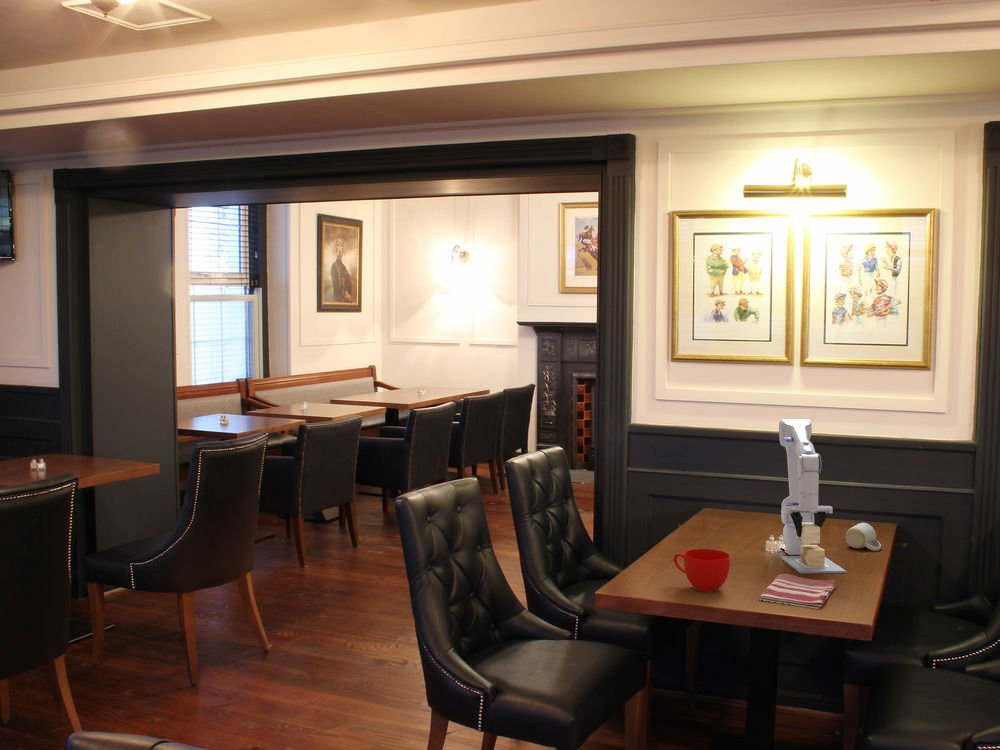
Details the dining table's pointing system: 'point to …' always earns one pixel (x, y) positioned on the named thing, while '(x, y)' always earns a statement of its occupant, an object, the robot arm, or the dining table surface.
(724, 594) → the dining table surface
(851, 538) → the ceramic mug
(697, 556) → the ceramic cup
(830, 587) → the dish towel
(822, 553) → the maple brick
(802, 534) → the birch brick
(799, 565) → the board
